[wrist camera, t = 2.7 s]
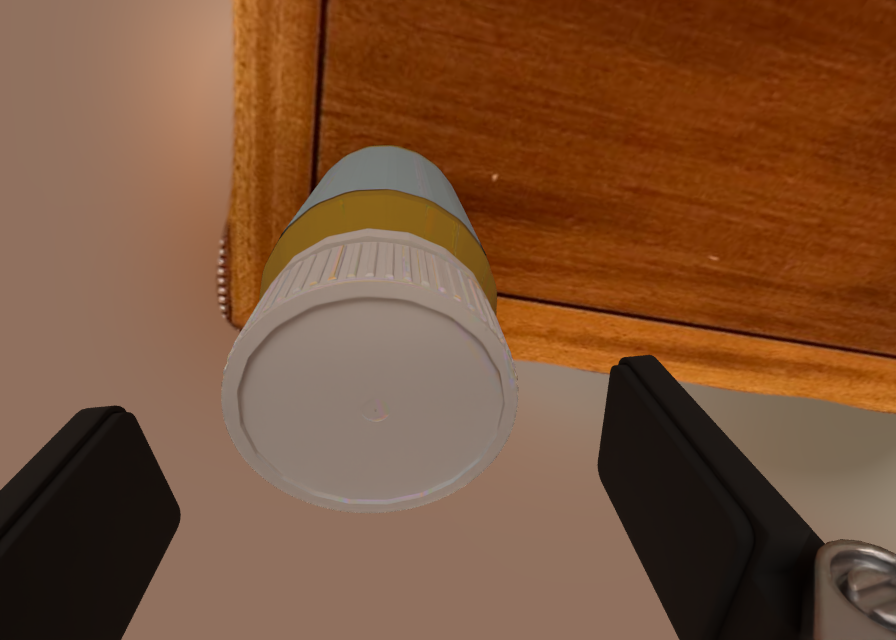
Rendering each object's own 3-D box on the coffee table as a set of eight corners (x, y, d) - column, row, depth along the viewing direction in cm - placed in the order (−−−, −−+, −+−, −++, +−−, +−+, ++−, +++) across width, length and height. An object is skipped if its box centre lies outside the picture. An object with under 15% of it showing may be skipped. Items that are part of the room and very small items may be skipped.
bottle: (436, 294, 25) (479, 539, 12) (306, 264, 23) (187, 507, 10) (475, 167, 22) (594, 305, 9) (329, 123, 20) (205, 210, 7)
